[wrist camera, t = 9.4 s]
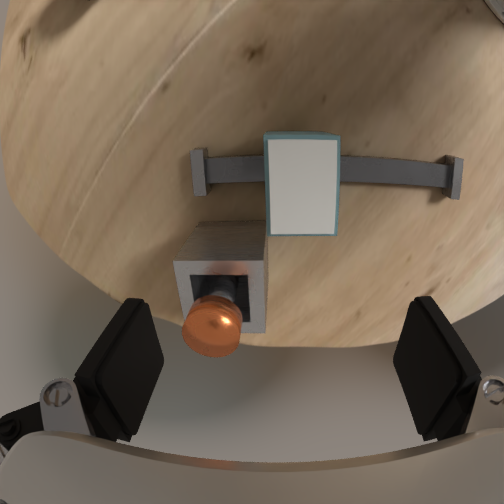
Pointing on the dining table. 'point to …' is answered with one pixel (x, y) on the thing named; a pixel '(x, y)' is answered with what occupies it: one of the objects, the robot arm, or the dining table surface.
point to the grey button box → (226, 267)
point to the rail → (350, 171)
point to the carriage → (301, 183)
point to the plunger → (215, 319)
